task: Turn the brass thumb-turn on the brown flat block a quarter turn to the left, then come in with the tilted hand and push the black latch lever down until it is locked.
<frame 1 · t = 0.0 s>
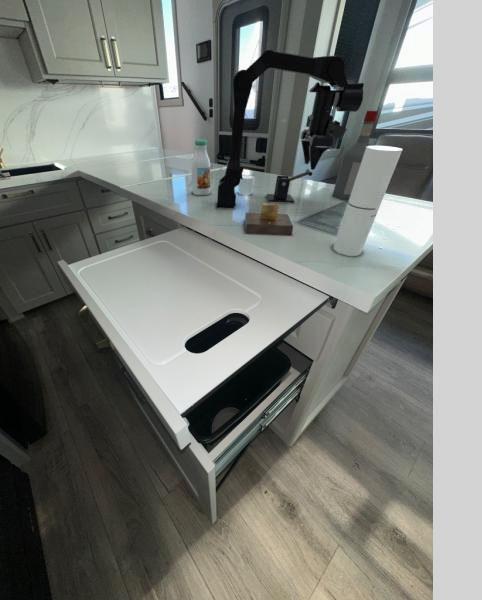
hand: (309, 166, 91), 15 cm above the worktop, tool pointing down, fingers open, 9 cm apart
brown flat block: (266, 227, 86), on the worktop
latch: (294, 177, 103), point 9 cm above the worktop, hinge at 22.0°
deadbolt: (269, 211, 83), point 5 cm above the worktop, hinge at 0.0°
cylindrical container: (346, 250, 74), on the worktop
milk bottle: (201, 193, 116), on the worktop
latch bracket: (279, 200, 109), on the worktop
shot glass: (244, 194, 115), on the worktop
liquor: (344, 198, 112), on the worktop
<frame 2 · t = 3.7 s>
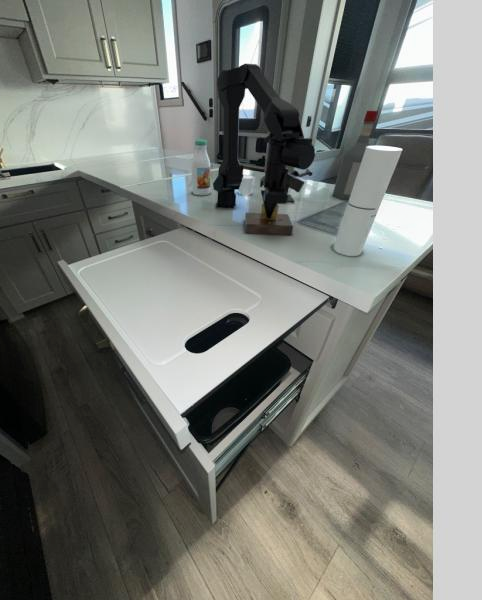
hand: (268, 217, 84), 4 cm above the worktop, tool pointing down, fingers closed on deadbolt
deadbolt: (269, 211, 83), point 5 cm above the worktop, hinge at 0.0°, touching gripper
everything else where it was.
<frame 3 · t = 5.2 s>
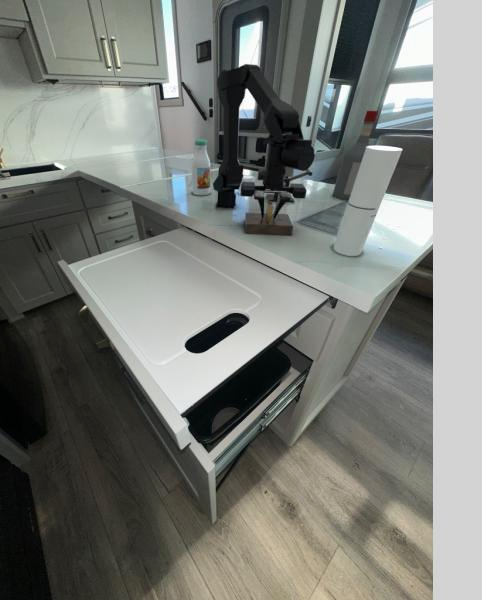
hand: (268, 218, 84), 3 cm above the worktop, tool pointing down, fingers open, 3 cm apart
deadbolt: (269, 211, 83), point 5 cm above the worktop, hinge at 89.2°
everything else where it was.
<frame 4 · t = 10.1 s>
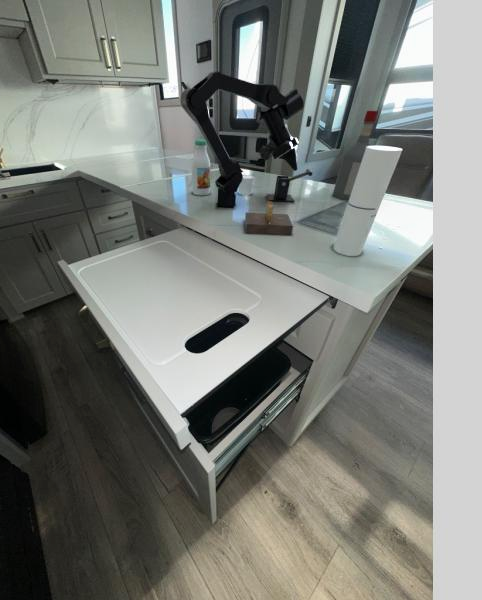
hand: (296, 170, 95), 13 cm above the worktop, tool tilted 35°, fingers closed
nothing on the worktop moved.
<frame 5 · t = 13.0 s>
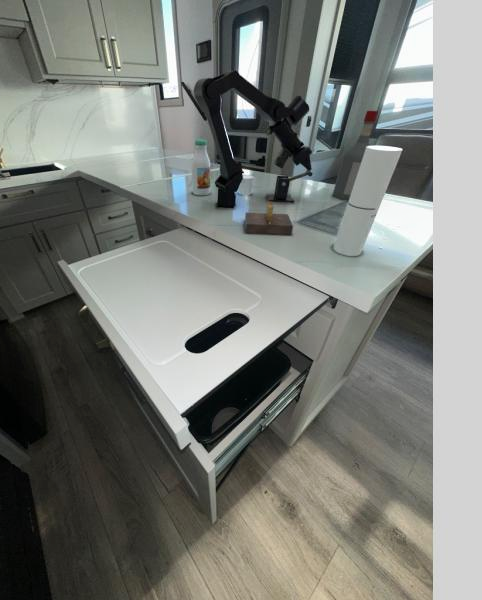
hand: (310, 170, 101), 12 cm above the worktop, tool tilted 45°, fingers closed, pressing on latch
latch: (294, 177, 103), point 9 cm above the worktop, hinge at 21.0°, touching gripper
everything else where it was.
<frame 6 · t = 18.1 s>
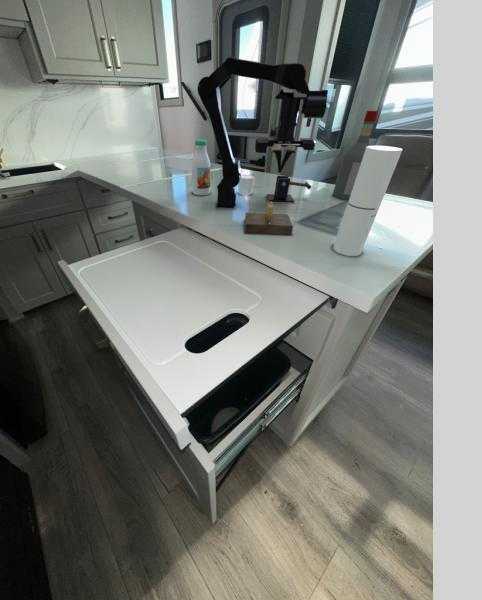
hand: (279, 172, 92), 13 cm above the worktop, tool pointing down, fingers closed
latch: (294, 183, 104), point 7 cm above the worktop, hinge at -5.5°
everything else where it was.
at the end: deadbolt at +89° (first picture: +0°); latch at -6° (first picture: +22°) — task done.
